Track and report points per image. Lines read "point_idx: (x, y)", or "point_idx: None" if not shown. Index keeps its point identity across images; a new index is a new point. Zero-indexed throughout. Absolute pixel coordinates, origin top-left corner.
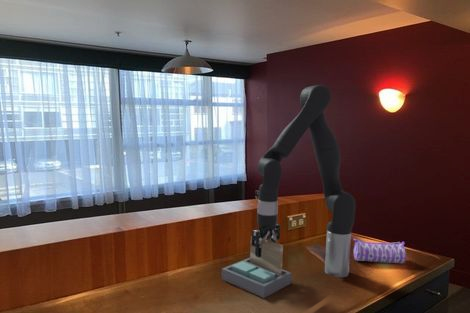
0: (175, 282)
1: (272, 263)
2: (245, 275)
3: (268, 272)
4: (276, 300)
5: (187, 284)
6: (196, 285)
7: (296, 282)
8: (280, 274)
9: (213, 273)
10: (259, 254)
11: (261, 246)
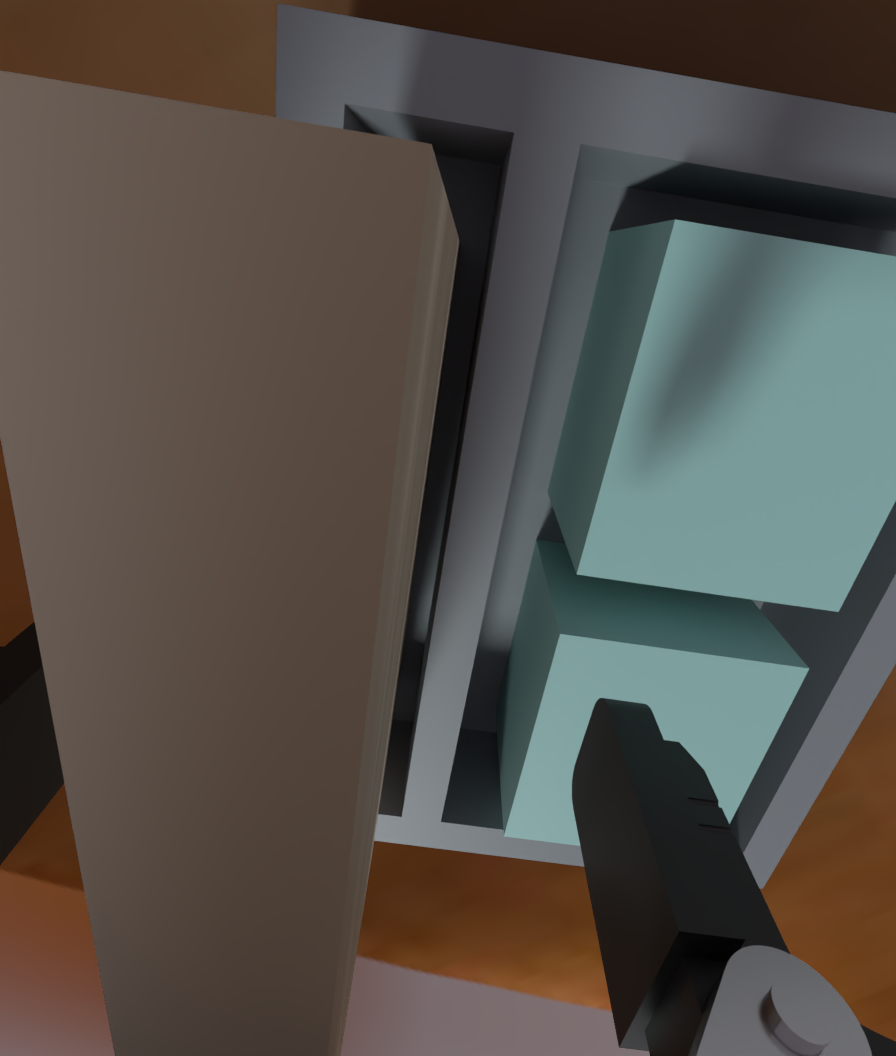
0: (867, 962)
1: (428, 439)
2: (776, 631)
3: (680, 365)
4: (868, 42)
5: (865, 903)
6: (854, 857)
7: (169, 79)
8: (510, 177)
9: (578, 873)
10: (658, 766)
11: (724, 992)
